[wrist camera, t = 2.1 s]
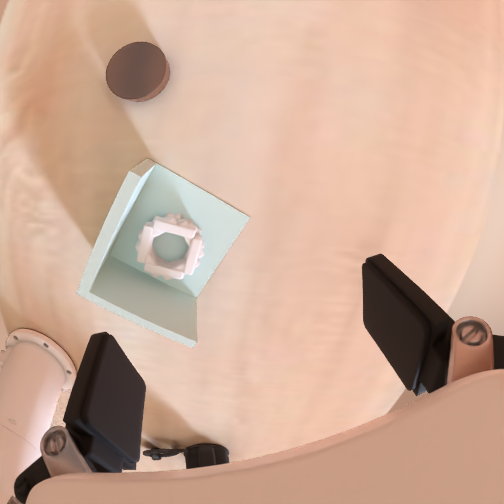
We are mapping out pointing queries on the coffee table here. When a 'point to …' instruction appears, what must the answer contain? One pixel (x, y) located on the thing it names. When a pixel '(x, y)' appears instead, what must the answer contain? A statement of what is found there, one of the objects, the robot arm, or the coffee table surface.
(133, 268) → the right angle wall
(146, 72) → the brown cylinder
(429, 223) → the coffee table surface
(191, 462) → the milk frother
